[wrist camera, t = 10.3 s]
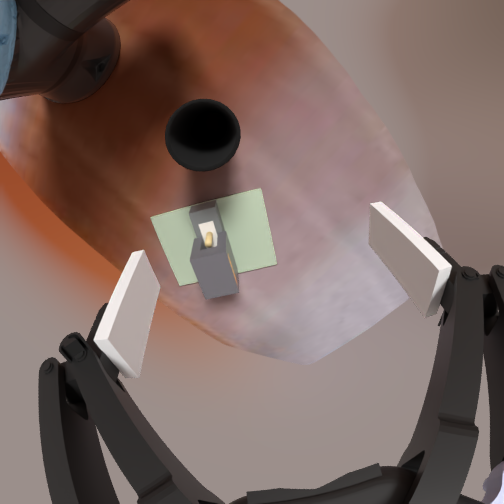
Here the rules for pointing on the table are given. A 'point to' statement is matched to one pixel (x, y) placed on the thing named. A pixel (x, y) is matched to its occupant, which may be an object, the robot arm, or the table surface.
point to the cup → (202, 135)
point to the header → (210, 224)
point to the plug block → (215, 267)
